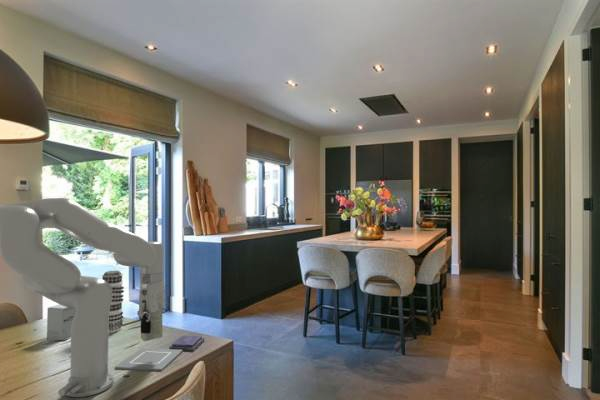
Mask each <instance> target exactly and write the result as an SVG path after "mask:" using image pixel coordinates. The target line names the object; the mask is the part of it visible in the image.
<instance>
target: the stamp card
mask: <svg viewBox="0 0 600 400" xmlns="http://www.w3.org/2000/svg"><path fill="white" fill-rule="evenodd" d="M183 352H184V351H183V350H177V349H168V348H152V347H151V348H146V347H140V349H138V350H137V351H135V352H134V353H133V354H131V355H129V356H128V357H126V359H124V360H122V361H121V362H120V363H118V364H117V365H115V366H114V369H115V370H132V371H135V370H136V371H157V372H162V371H164V369H166V368H167V367H168V366H169V365H170V364H171V363H172V362H173V361H175V360H176V358H178V357H179V356H180V355H181V354H182V353H183Z"/></svg>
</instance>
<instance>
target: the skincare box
mask: <svg viewBox="0 0 600 400" xmlns="http://www.w3.org/2000/svg"><path fill="white" fill-rule="evenodd" d="M162 310H163V309H162V302H160V303H159V310H158V311H156V312H155V313H151V316H150V320H149V321H151V332H150V333H141V332H140V339H141V340H142V341H144V342H148V341H153V340H156V339H161V338H163V313H162ZM144 312H148V310H147V309H146V308H145V310H144ZM144 315H146V317H147V315H148V314H144Z"/></svg>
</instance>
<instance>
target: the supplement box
mask: <svg viewBox="0 0 600 400" xmlns="http://www.w3.org/2000/svg"><path fill="white" fill-rule="evenodd" d="M75 313H76V309H74V308H70V307H65V306H62V305H60V304H56V305H52V306H48V307H47V313H46V314H47V317H46V318H47V320H46V321H47V323H46V339H47V340H55V341H63V340H65V339H67V338H69V337H70V338H71V325H72V321H73V318H74V316H75Z"/></svg>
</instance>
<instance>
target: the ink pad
mask: <svg viewBox="0 0 600 400" xmlns="http://www.w3.org/2000/svg"><path fill="white" fill-rule="evenodd" d="M204 342H205V337H203V336H200V335H182V336H180V337H178V339H176V340H175V341H174V342H173V343H171V344H170V346H169V349H177V350H183V352H185V351H187V352H190V351H191V352H195V351H196V349H197V348H199V346H201V345H202V343H204Z"/></svg>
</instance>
